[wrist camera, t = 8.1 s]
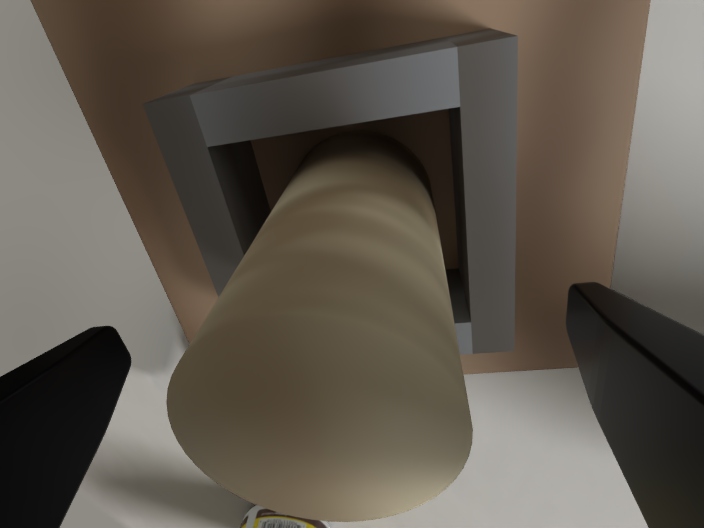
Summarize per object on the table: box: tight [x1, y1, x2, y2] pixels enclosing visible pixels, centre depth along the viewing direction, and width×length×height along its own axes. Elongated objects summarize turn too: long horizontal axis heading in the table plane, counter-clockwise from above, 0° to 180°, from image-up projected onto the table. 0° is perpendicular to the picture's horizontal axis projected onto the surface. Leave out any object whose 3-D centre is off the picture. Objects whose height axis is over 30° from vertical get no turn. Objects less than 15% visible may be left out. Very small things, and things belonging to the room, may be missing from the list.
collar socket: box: [31, 0, 650, 374], centre depth 14 cm, size 16×16×4 cm
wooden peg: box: [167, 130, 473, 522], centre depth 10 cm, size 4×4×9 cm
